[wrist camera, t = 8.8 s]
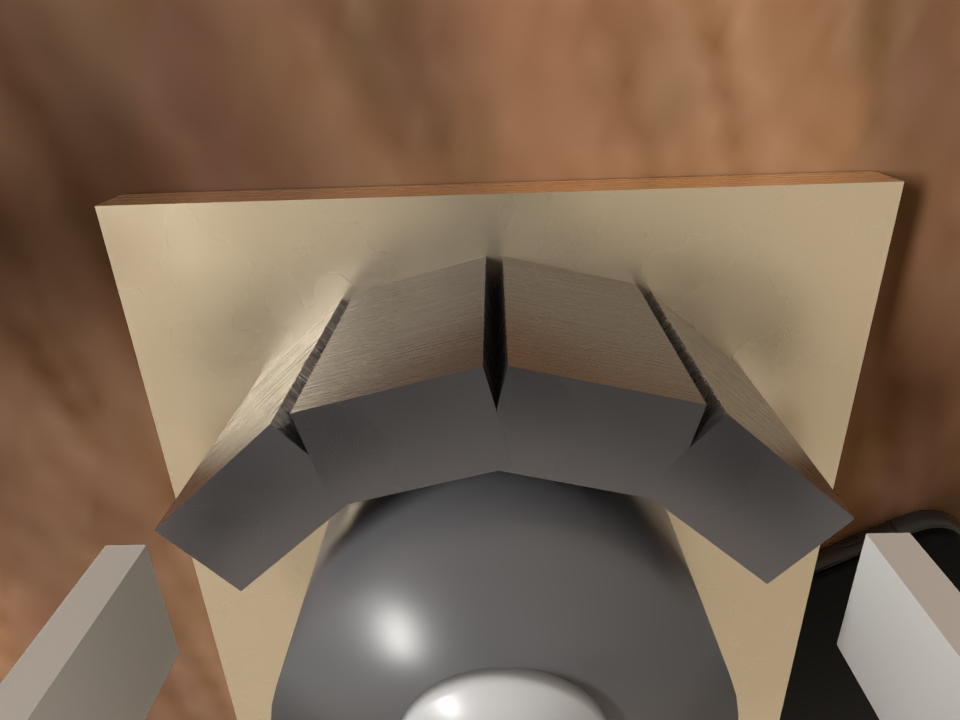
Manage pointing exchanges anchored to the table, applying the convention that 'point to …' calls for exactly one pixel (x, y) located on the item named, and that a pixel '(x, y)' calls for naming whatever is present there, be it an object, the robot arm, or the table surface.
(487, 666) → the dark grey rounded knob
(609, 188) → the plate with grey arcs
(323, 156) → the table surface
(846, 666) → the smartphone
